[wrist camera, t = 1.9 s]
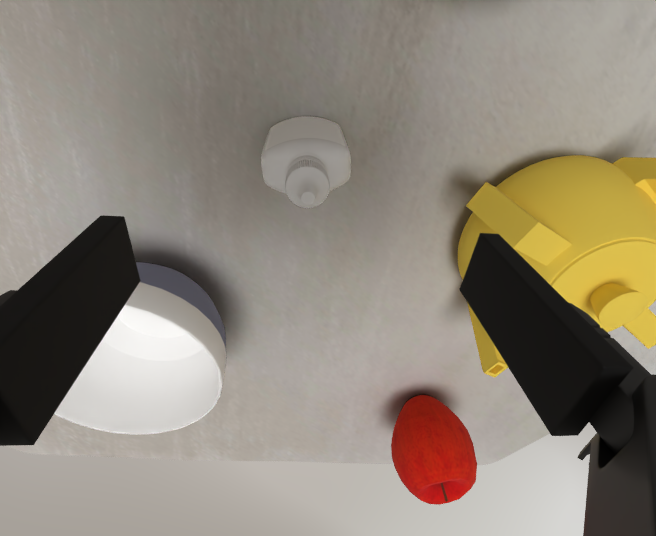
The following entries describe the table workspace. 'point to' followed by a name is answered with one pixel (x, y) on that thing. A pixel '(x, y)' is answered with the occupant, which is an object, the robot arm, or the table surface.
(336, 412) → the table surface
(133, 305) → the bowl
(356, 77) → the table surface
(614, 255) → the teapot
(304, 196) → the eye dropper bottle
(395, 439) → the apple
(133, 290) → the robot arm
